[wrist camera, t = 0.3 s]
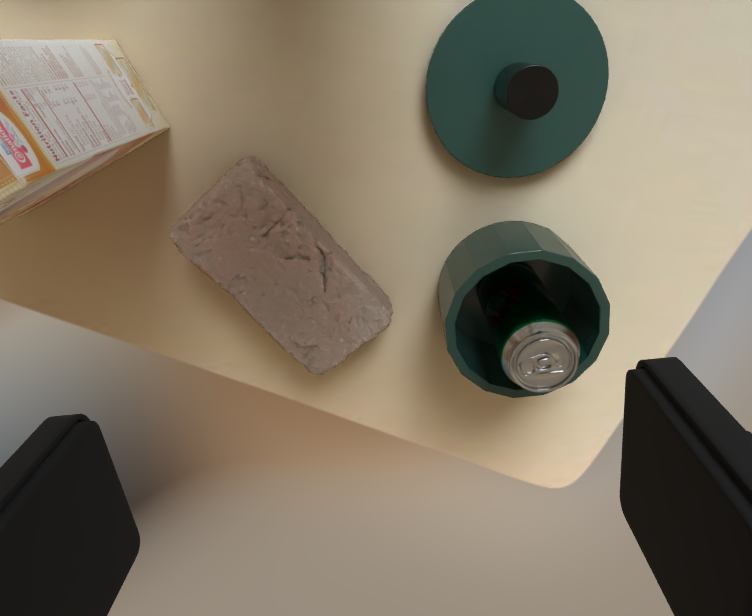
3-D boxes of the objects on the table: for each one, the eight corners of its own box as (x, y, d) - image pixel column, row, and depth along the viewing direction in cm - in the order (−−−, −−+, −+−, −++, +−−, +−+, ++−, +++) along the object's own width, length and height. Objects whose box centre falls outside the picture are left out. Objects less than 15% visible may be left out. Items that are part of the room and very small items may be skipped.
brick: (398, 302, 49) (399, 326, 44) (324, 359, 51) (318, 388, 47) (255, 147, 44) (240, 157, 40) (180, 218, 46) (159, 235, 42)
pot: (431, 230, 46) (439, 261, 40) (579, 212, 45) (612, 241, 39) (444, 356, 51) (452, 404, 44) (578, 342, 50) (607, 389, 43)
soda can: (545, 308, 48) (591, 386, 37) (485, 325, 49) (513, 406, 38) (533, 253, 46) (577, 317, 36) (470, 271, 47) (495, 339, 36)
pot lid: (416, 0, 40) (421, -6, 34) (606, -28, 39) (642, -40, 33) (433, 184, 45) (439, 204, 39) (601, 163, 44) (632, 181, 38)
